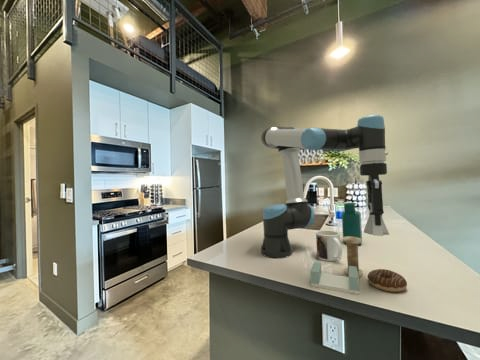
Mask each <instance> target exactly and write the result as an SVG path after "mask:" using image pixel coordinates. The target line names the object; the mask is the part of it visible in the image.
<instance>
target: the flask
mask: <svg viewBox="0 0 480 360" xmlns="http://www.w3.org/2000/svg"><path fill="white" fill-rule="evenodd" d="M369 204H370V213H372V203H369ZM363 232H364V233H365V234H367V235H372V236H374V235H373V229H372V215H369V214H368V218H367V221H366V224H365V227H364V230H363ZM389 235H390V232H389V230H388V228H387V225H386V224H385V222H384V220H383V236H389Z"/></svg>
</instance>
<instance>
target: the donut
mask: <svg viewBox="0 0 480 360" xmlns="http://www.w3.org/2000/svg"><path fill="white" fill-rule="evenodd" d="M367 279H368V282H369V283H370V284H371V285H372V286H373V287H374V288H377V289H379V290H381V291H385V292H391V293H398V292H399V293H400V292H402V291H405V289H406V288H407V286H408V283H407V279H406V278H405V277H404V276H403V275H401V274H399V273H397V272H396V271H392V270H389V269H385V268H384V269H382V268H378V269H372V270H371V271H369V272H368V274H367Z"/></svg>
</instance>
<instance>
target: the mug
mask: <svg viewBox="0 0 480 360" xmlns="http://www.w3.org/2000/svg"><path fill="white" fill-rule="evenodd" d="M340 235H341V234H340V233H339V232H338V231H335V230H327V229H325V230H324V229H323V230H317V231H316V232H315V236H316V237H315V239H316V256H317V258H318V259H320V260H322V261H328V262H337V261H340V260H341V257H342V255H343V247H342V243H341V241H340V239H341V238H340V237H341V236H340Z"/></svg>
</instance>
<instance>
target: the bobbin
mask: <svg viewBox="0 0 480 360" xmlns="http://www.w3.org/2000/svg"><path fill="white" fill-rule="evenodd" d="M343 241H344V242H346V243H347V244H346V258H347V259H346V260H347V267H345V268H344V269H343V270H344V274H345V275H346V276H347V277H349V266H355V267H357V272H358V278H361V277H363V275H364V274H363V273H364V272H363V270H361V269H360V266H359V247H358V243H361V239H360V238H358V237H352V236H346V237H343V236H342V242H343Z"/></svg>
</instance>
